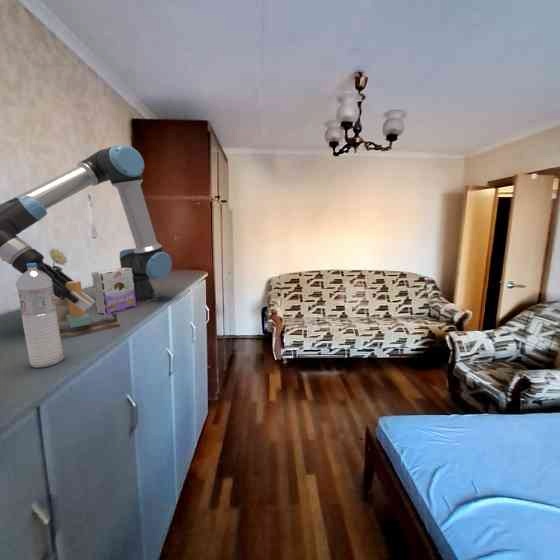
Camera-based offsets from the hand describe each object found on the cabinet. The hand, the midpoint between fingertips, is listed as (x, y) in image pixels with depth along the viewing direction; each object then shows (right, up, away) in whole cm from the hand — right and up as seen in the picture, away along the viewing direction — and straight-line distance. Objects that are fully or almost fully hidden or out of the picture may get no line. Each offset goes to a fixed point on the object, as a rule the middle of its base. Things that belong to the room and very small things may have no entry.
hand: (89, 306), depth 97 cm
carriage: (-4, -6, 0) cm, 7 cm away
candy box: (-5, -4, +26) cm, 27 cm away
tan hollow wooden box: (-14, -6, +11) cm, 19 cm away
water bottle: (+3, -12, -21) cm, 25 cm away
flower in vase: (-33, -4, +30) cm, 44 cm away
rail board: (-2, -8, +2) cm, 8 cm away
